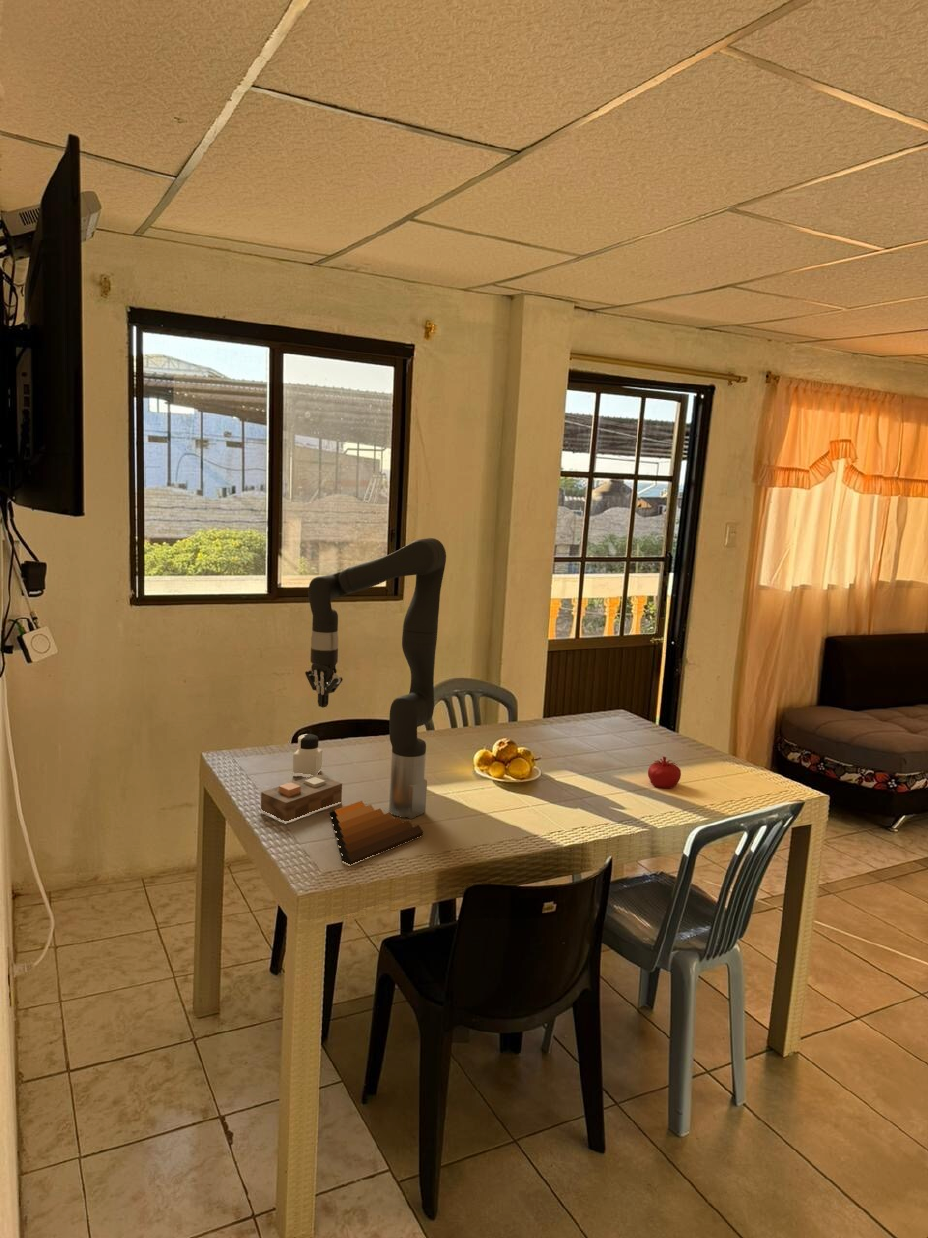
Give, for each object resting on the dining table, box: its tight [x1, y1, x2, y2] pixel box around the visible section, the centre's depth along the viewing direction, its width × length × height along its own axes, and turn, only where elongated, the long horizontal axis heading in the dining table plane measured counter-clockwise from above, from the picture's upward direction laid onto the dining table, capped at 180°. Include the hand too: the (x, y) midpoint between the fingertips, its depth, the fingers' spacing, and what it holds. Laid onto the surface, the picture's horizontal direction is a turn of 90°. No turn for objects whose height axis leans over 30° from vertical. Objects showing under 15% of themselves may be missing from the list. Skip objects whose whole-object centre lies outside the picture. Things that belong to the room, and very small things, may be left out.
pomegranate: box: [647, 756, 682, 789], centre depth 270 cm, size 10×10×9 cm
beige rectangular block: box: [305, 777, 325, 788], centre depth 238 cm, size 4×4×6 cm
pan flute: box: [329, 800, 424, 865], centre depth 220 cm, size 25×3×25 cm
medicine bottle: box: [292, 733, 323, 775], centre depth 261 cm, size 7×7×12 cm
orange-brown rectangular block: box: [278, 781, 301, 797], centre depth 231 cm, size 4×4×6 cm
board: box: [260, 774, 343, 821], centre depth 235 cm, size 10×20×6 cm, turn 142°
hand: (322, 706), depth 243 cm, fingers closed
